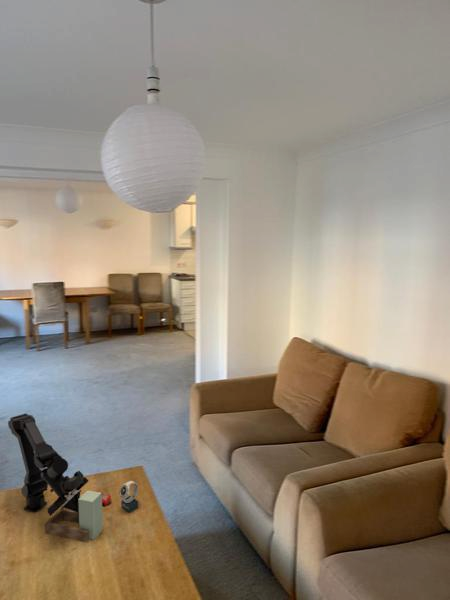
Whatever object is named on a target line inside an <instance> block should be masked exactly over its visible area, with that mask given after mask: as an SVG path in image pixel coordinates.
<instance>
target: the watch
mask: <svg viewBox="0 0 450 600" xmlns="http://www.w3.org/2000/svg"><path fill="white" fill-rule="evenodd" d="M131 485H134V487H133V490H132V493H131V495H130V491H131V490H130V489H131ZM118 493H119V497H120V499H121V501H120V503H121V509H123V510H125V511H126V512H128V513H132V512H134V511H135V510H138V509H139V501H138V500H137V499H136V497H137V495H138V493H139V485H138V483H137V482H135V481H133V480H129V481H126V482H125V483H124V484H122V485H121V486H120V488H119V491H118Z"/></svg>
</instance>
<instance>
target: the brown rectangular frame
mask: <svg viewBox="0 0 450 600" xmlns="http://www.w3.org/2000/svg"><path fill="white" fill-rule="evenodd" d="M62 521H69V522H73V523H77V524H79V513H78V512H75V511H73V510H70V509H66V508H63V509H62V507H60V508H59V509H58V510H57V511H56V512H55V513H53V514H52V515H51V516H50V518H49V519H48V520H47V521H46V522H44V533H45V534H47V535H52V536H56V537H60V538H65V539H69V540H73V541H79V542H83V543H88V542H89V541H90V539H89V530H85V529H80V527H79V528H78V527H76V526H75V527H74V526H71V525H65V524H60V523H61V522H62Z"/></svg>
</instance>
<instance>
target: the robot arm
mask: <svg viewBox="0 0 450 600" xmlns="http://www.w3.org/2000/svg"><path fill="white" fill-rule="evenodd" d="M7 425H8V428H9V429H10V432H11V433H12V435H13V436H14V437H15V438H17V441H18V445H19V448H20V452H21V453H20V454H21V457H22V461H23V465H24V469H25V471H26V472H25V476H24V480H23V482H24V485H23V487H21V489H20V490H21V491H20V492H21V495H22V496H23V497H24V498H25V502H26V504H25V506H24V507H23V510H25V511H30V512H34V513H35V512H36V513H38V512H39V511H40V510H41V509H42V508H44V506H45V505H46V504H48V502H47V501H46V500H45V499H46V498H45V492H46V491H48V487H50V488H51V489H50V490H49V491H50V493H53V492H54V493H55V495H56V496H57V498H56V500H55V501H54V502H53V503H51V505H50V506H48V508H47V510H46V511H47V514H48V515H49V516H50V517H52V516H53V515H54V514H55V513H57V512H58V511H59V510H60V509H61V508H62V509H63V508H65V509H70V510H73V511H75V512H78V513H79V503H78V499H79V498H80V497H81V492H82V488H83V487H84V486H85V485H86V484H87V483H88V482H89V479H88V478H87V477H85V476H84V474H83V473H82V472H81V471H80V470H77V471H76V472H74V473H73V476H71V477H69V475H66V476H64V474H65V472H67V470H68V468H69V462H68V461H67V459H65V458H63V457H62V455H60V454H59V453H58V451H56V450H55V449H54V447H53V446H52V445H51V444H49V443H47V442H46V441H45V439H44V437H43V435H42V433H41V431H40V429H39V427H38V426H37V423H36V419H35V417H34V416H33V415H31V414H28V413H23V414H19V415H15V416H11V417H10V418H9V420H8V421H7Z"/></svg>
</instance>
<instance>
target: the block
mask: <svg viewBox="0 0 450 600" xmlns="http://www.w3.org/2000/svg"><path fill="white" fill-rule="evenodd" d="M94 491H95V490H89V489H88V490H87V491H84V492H85V493H84V492H83V493H84V494H83V493H82V494H83V495H82V494H81V495H82V496H81V495H80V498H79V499H78V503H79V523H78V524H79V526H78V527H79V528H80V529H85V530H89V540H96V538H97V537H99V535H100V534H101V532H102V531H103V530H104V523H103V521H104V520H103V518H104V517H103V506H102V492H101V491H98V492H94ZM100 492H101V493H100Z"/></svg>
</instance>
